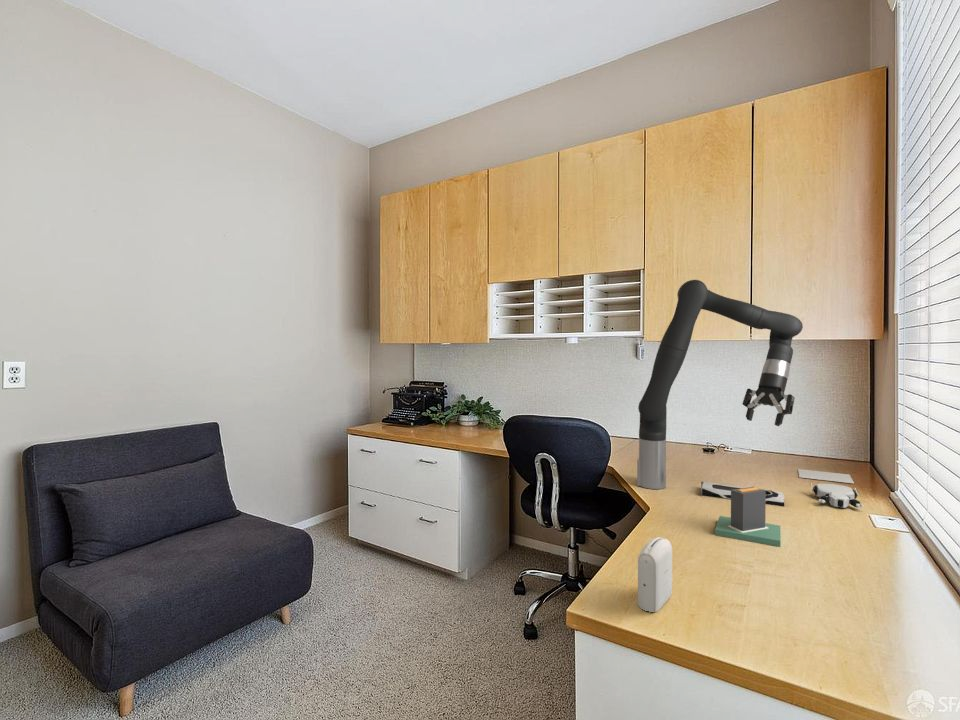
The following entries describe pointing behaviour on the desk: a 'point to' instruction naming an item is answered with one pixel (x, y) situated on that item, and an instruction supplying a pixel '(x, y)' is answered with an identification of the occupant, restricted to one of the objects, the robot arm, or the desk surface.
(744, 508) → the block
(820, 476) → the paper stack
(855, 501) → the robot toy
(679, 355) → the robot arm
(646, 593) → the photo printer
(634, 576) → the desk surface
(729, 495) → the graphics card
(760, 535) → the header board
